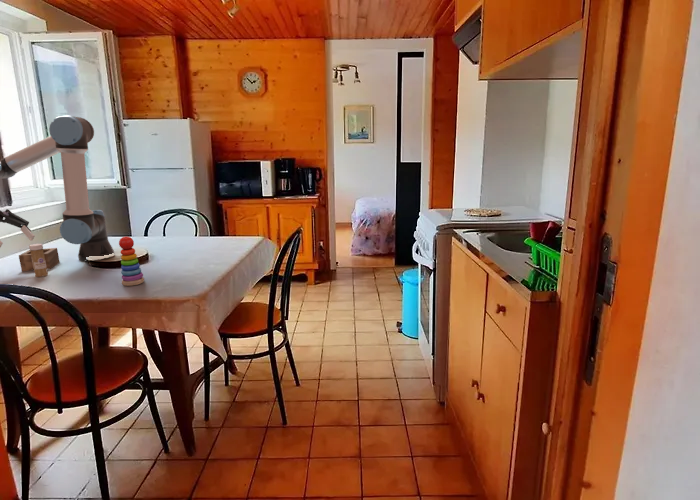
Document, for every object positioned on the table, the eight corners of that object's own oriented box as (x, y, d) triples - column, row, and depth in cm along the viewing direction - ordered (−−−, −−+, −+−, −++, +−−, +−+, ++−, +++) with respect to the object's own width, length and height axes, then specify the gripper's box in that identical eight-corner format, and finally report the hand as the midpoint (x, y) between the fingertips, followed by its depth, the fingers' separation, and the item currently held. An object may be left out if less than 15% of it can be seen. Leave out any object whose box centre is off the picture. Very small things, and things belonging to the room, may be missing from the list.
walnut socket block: (59, 262, 204) (57, 247, 202) (50, 268, 193) (47, 253, 192) (32, 264, 201) (29, 249, 199) (21, 271, 191) (18, 255, 189)
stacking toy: (126, 280, 175) (120, 234, 170) (147, 279, 176) (141, 233, 171) (118, 287, 167) (111, 239, 163) (140, 286, 168) (133, 238, 163)
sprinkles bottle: (40, 277, 181) (34, 246, 178) (32, 276, 182) (26, 245, 179) (50, 274, 185) (44, 243, 182) (42, 273, 186) (36, 242, 183)
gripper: (9, 206, 196) (41, 241, 195) (-55, 216, 172) (-18, 255, 172) (15, 195, 193) (48, 230, 193) (-48, 203, 170) (-11, 242, 169)
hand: (17, 242), depth 182 cm, fingers open, 13 cm apart
